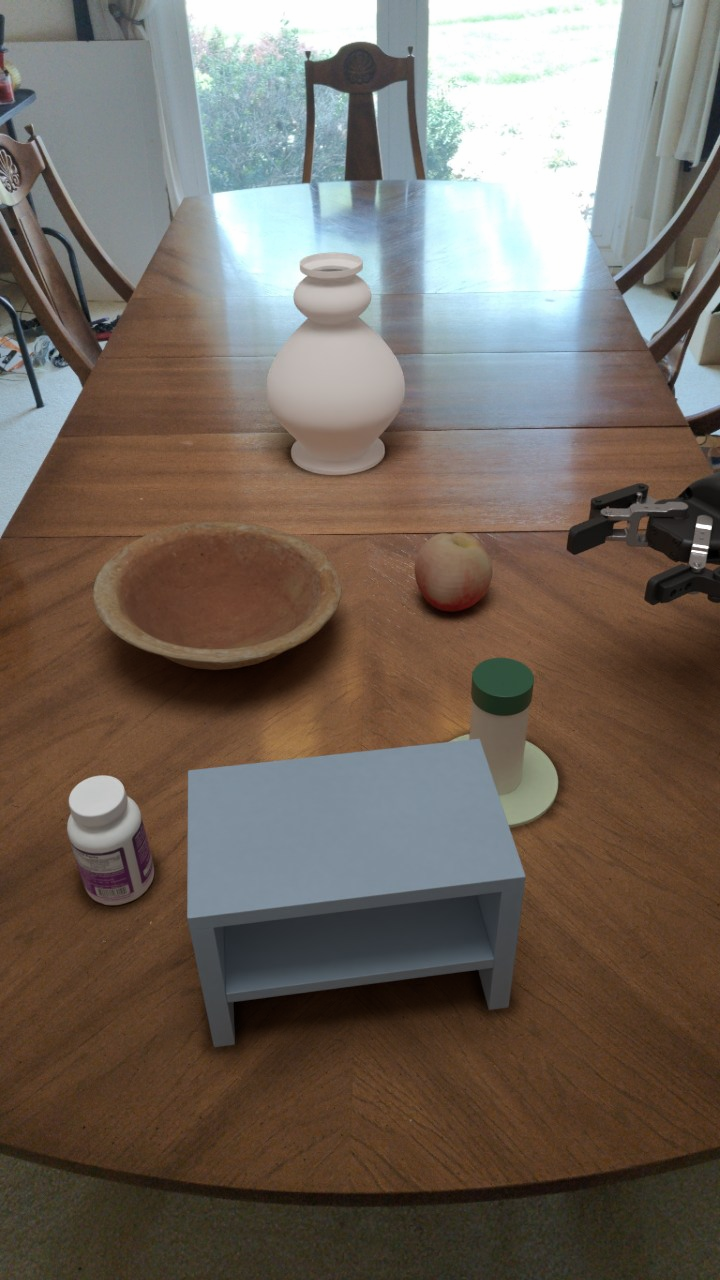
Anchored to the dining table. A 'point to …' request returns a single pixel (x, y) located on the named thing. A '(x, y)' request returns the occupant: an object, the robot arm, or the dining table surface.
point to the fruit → (453, 571)
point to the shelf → (349, 875)
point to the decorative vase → (335, 372)
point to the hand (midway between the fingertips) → (607, 566)
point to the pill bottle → (109, 841)
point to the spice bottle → (501, 717)
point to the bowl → (217, 593)
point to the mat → (529, 787)
